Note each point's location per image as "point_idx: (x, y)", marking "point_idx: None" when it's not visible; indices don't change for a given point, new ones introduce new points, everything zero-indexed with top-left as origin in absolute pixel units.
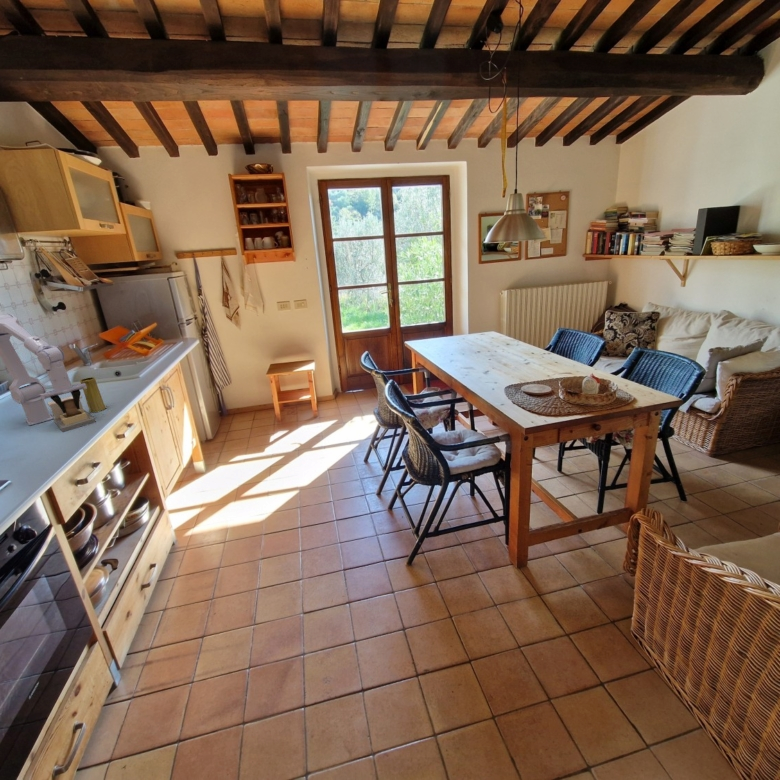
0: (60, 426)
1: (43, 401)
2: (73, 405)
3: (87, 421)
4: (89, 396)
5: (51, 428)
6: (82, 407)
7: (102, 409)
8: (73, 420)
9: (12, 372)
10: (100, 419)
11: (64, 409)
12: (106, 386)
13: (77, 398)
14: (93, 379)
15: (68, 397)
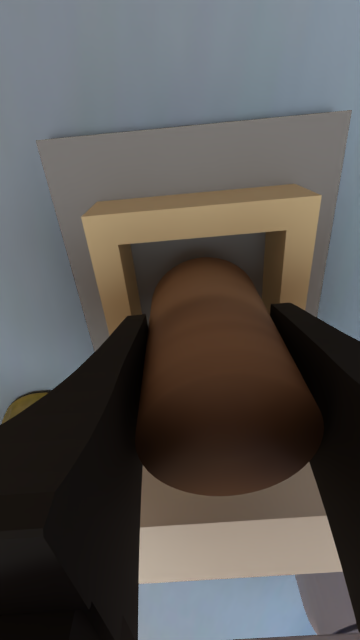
0: (330, 203)
1: (328, 607)
2: (174, 329)
3: (108, 134)
4: None
5: (343, 312)
6: None
7: (20, 399)
8: (222, 194)
9: None
10: (14, 186)
11: (292, 317)
12: None
13: (63, 402)
14: None
15: (184, 573)
